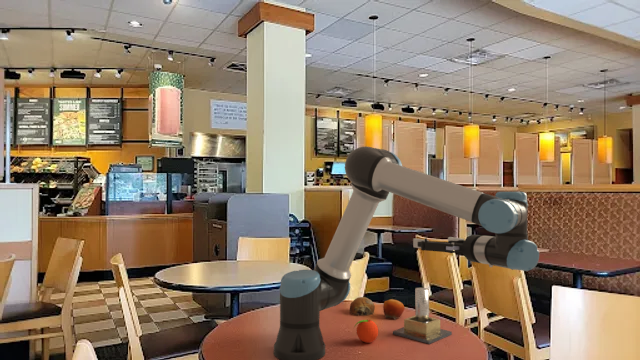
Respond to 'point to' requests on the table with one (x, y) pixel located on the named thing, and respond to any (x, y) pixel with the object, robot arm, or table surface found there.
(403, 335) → the gold square holder
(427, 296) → the silver metal tall cylinder
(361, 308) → the bread roll
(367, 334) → the clementine
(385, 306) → the fruit
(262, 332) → the table surface
